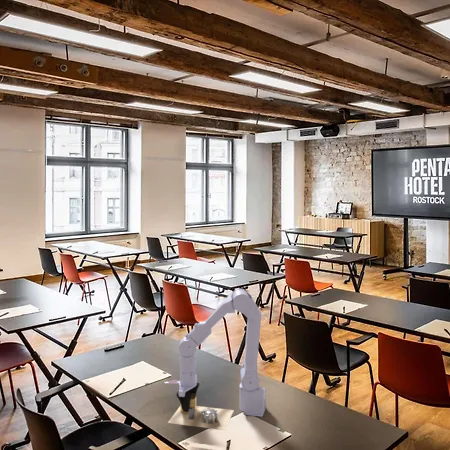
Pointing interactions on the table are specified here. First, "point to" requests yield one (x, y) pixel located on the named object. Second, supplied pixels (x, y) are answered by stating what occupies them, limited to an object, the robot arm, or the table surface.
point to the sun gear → (209, 416)
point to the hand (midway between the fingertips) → (188, 407)
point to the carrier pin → (191, 413)
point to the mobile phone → (172, 381)
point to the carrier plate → (184, 419)
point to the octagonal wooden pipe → (191, 403)
